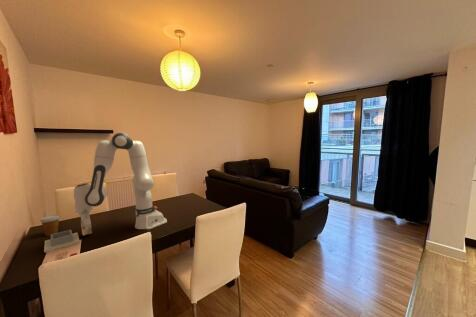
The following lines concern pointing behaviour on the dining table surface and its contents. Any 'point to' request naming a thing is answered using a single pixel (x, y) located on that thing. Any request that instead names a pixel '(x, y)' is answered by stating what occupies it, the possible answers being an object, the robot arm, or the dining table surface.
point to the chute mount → (61, 240)
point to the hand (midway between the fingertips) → (86, 227)
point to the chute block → (85, 230)
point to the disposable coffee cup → (50, 224)
